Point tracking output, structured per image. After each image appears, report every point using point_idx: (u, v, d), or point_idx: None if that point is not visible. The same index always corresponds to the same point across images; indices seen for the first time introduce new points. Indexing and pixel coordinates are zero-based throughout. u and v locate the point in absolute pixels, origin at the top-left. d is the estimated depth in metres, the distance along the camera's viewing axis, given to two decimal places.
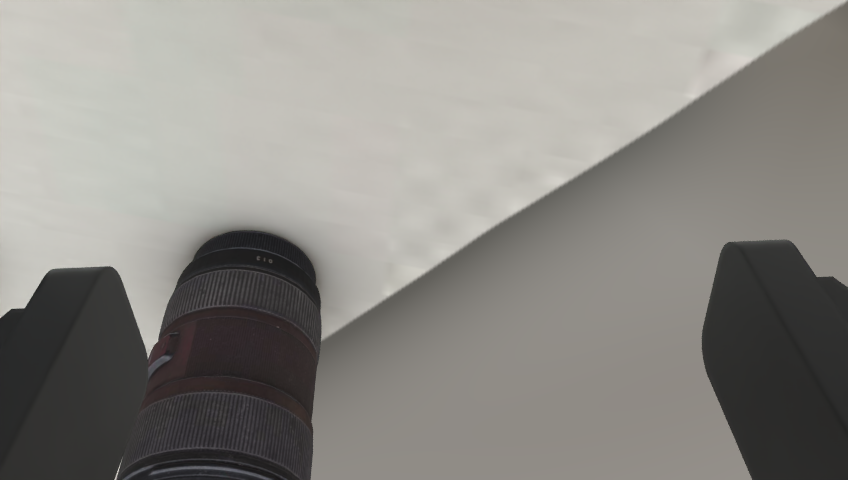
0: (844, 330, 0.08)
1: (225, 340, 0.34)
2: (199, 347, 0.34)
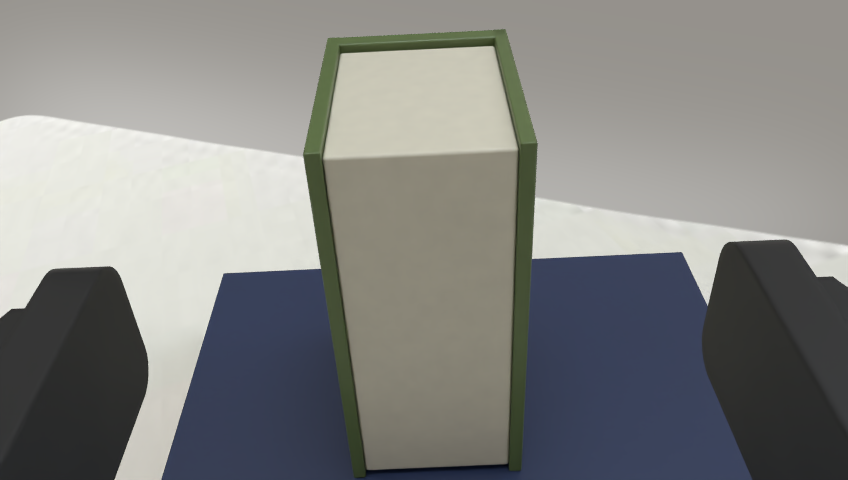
0: (844, 330, 0.08)
1: None
2: None
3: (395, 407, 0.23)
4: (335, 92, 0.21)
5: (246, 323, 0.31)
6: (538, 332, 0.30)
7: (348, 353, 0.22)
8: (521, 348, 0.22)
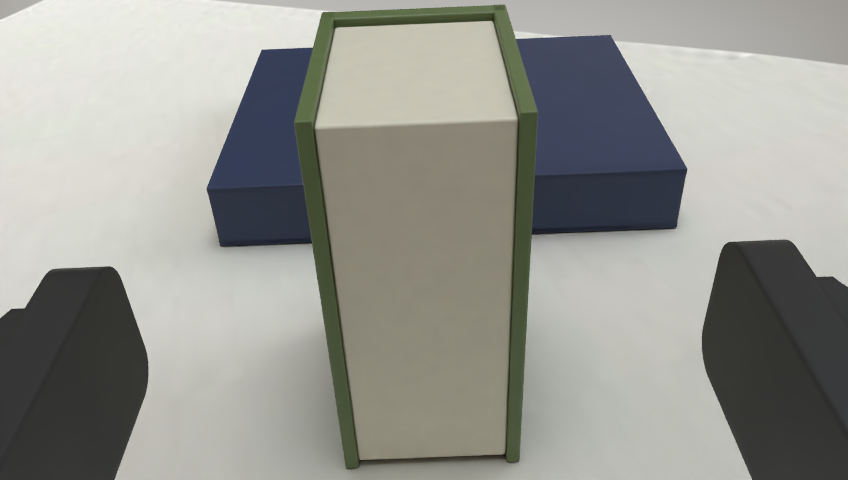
0: (844, 330, 0.08)
1: None
2: None
3: (388, 394, 0.22)
4: (328, 64, 0.20)
5: (281, 72, 0.42)
6: None
7: (340, 335, 0.21)
8: (520, 331, 0.21)
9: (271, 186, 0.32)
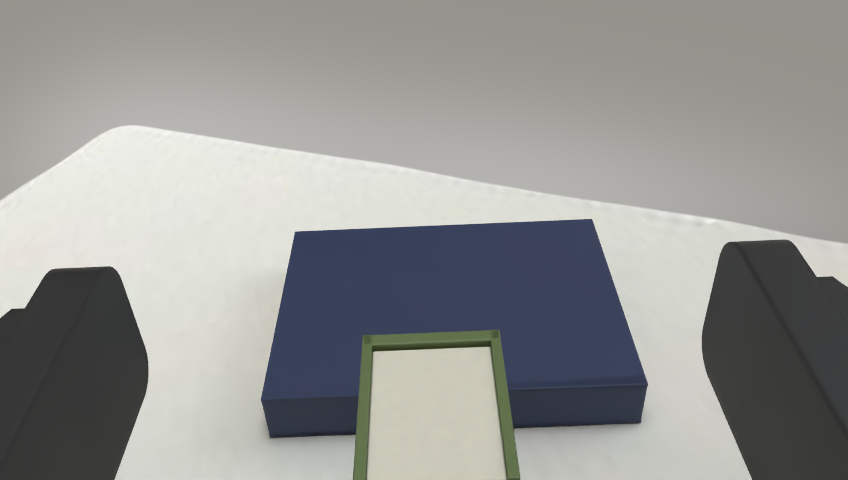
0: (844, 330, 0.08)
1: None
2: None
3: None
4: (371, 403, 0.28)
5: (313, 260, 0.49)
6: (496, 265, 0.48)
7: None
8: None
9: (313, 397, 0.40)
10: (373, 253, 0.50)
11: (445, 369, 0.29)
